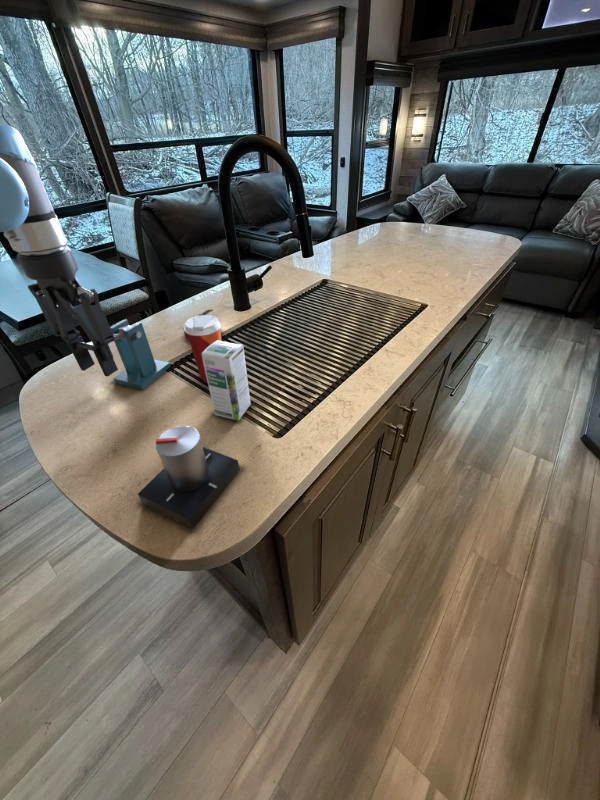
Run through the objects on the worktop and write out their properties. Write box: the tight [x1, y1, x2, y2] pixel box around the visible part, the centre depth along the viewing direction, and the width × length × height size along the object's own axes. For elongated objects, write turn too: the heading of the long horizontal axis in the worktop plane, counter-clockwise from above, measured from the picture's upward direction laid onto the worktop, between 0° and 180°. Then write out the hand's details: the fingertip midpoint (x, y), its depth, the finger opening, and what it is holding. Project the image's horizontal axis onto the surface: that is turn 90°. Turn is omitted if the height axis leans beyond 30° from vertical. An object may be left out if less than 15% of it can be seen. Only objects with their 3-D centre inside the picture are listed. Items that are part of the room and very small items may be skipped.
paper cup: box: [183, 314, 222, 384], centre depth 74 cm, size 8×8×14 cm
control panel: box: [137, 446, 241, 530], centre depth 53 cm, size 12×10×3 cm
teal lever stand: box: [110, 319, 171, 390], centre depth 75 cm, size 10×8×13 cm
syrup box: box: [202, 340, 251, 422], centre depth 64 cm, size 6×6×14 cm
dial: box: [155, 425, 209, 492], centre depth 49 cm, size 6×6×8 cm
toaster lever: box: [75, 324, 132, 352], centre depth 69 cm, size 12×6×2 cm, turn 159°
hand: (99, 369), depth 68 cm, fingers closed on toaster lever, 5 cm apart
